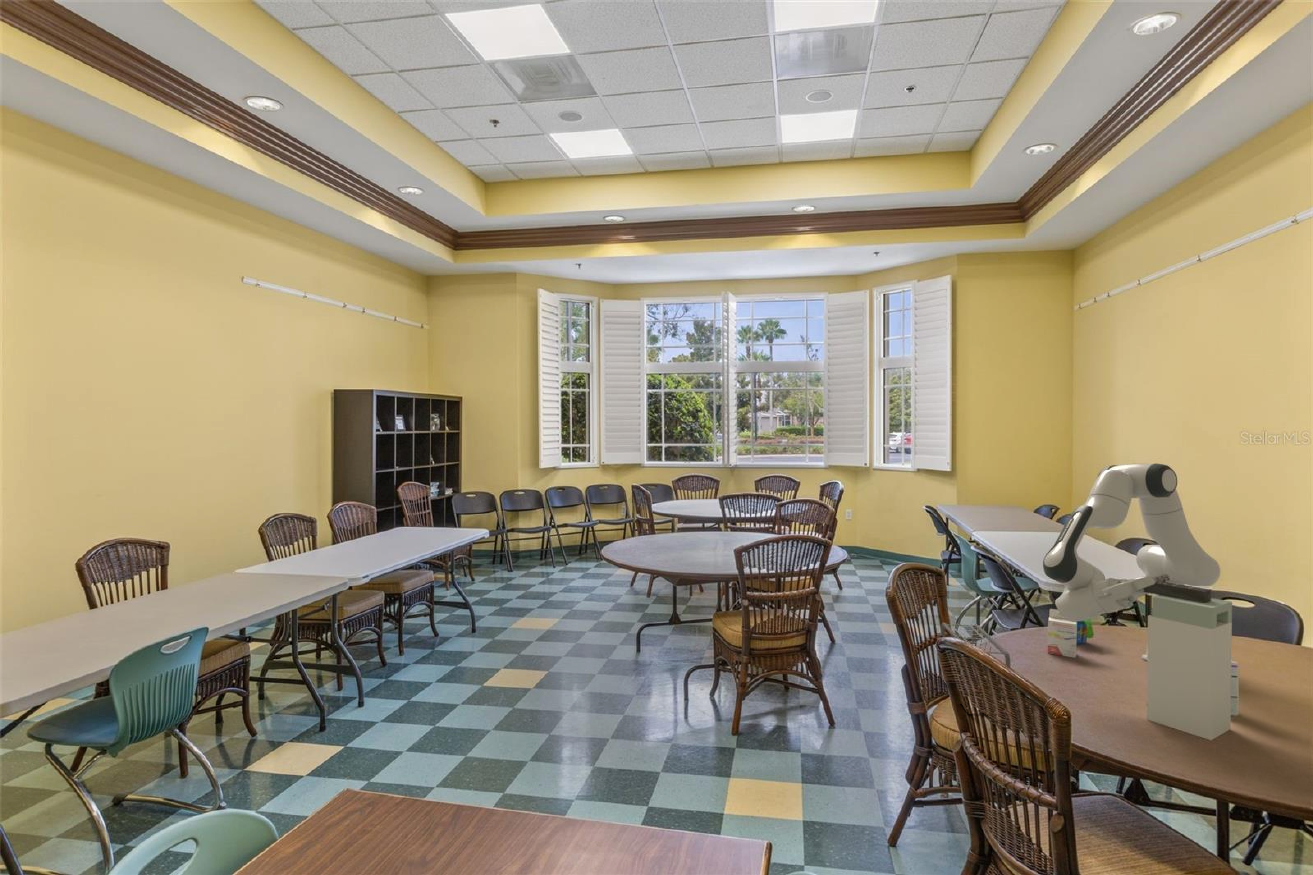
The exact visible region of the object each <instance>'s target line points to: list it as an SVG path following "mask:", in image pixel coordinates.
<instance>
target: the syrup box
mask: <svg viewBox="0 0 1313 875" xmlns="http://www.w3.org/2000/svg"><path fill="white" fill-rule="evenodd" d="M1239 672H1240V671H1239V663H1238V662H1236V661H1235V660H1232V659H1231V716H1239V715H1240V711H1239V710H1240V709H1239V708H1240V707H1239V705H1240V704H1239V703H1240V702H1239V701H1240V700H1239V699H1240V698H1239V696H1240V694H1239V693H1240V692H1239V691H1240V689H1239V688H1240V686H1239V685H1240V683H1239V677H1240V676H1239V675H1240V673H1239Z"/></svg>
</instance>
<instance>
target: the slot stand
mask: <svg viewBox="0 0 1313 875" xmlns="http://www.w3.org/2000/svg"><path fill="white" fill-rule="evenodd" d="M1151 599H1152V609H1151V610H1152V612H1151V613H1152V614H1150V615H1147V645H1148V659H1147V660H1146V661H1147V666H1146V667H1147V668H1146V670H1147V675H1146V676H1147V677H1146V680H1147V681H1146V682H1147V683H1146V684H1147V686H1146V688H1147V689H1146V720H1148V721H1151V722H1153V723H1156V724H1160V725H1163V726H1165V727H1168V728H1172V729H1174V728H1175V730H1179V731H1180V732H1184V733H1187V734H1191V735H1193V736H1196V737H1199V738H1203V739H1206V740H1209V741H1213V740H1214V739H1216V738H1218V737H1220V736H1221V735H1223V734H1225V733H1226V732H1228V731H1230V730H1231V723H1232V722H1231V721H1232V720H1231V717H1232V715H1231V660H1232V641H1233V640H1232V639H1233V638H1232V636H1233V635H1232V632H1233V630H1232V629H1233V628H1232V627H1233V622H1232V621H1233V601H1229V600H1224V599H1218V598H1213V597H1211V601H1210V602H1207V603H1201V602H1195V601H1190V600H1184V599H1179V598H1173V597H1168V596H1163V595H1157V596H1154V595H1153V596H1152V598H1151Z"/></svg>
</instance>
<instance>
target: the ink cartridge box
mask: <svg viewBox="0 0 1313 875" xmlns="http://www.w3.org/2000/svg"><path fill="white" fill-rule="evenodd" d="M1058 613H1060V612H1059V611H1058V609H1055V608H1050V609H1049V617H1048V619H1047V620H1048V623H1047V653H1048V654H1050V655H1051V654H1052V655H1055V656H1062V657H1067V658H1074V659H1075V658H1077V643H1076V642H1077V621H1070V620H1068V619H1067V618H1065V617H1064V616H1063V615H1058Z"/></svg>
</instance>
